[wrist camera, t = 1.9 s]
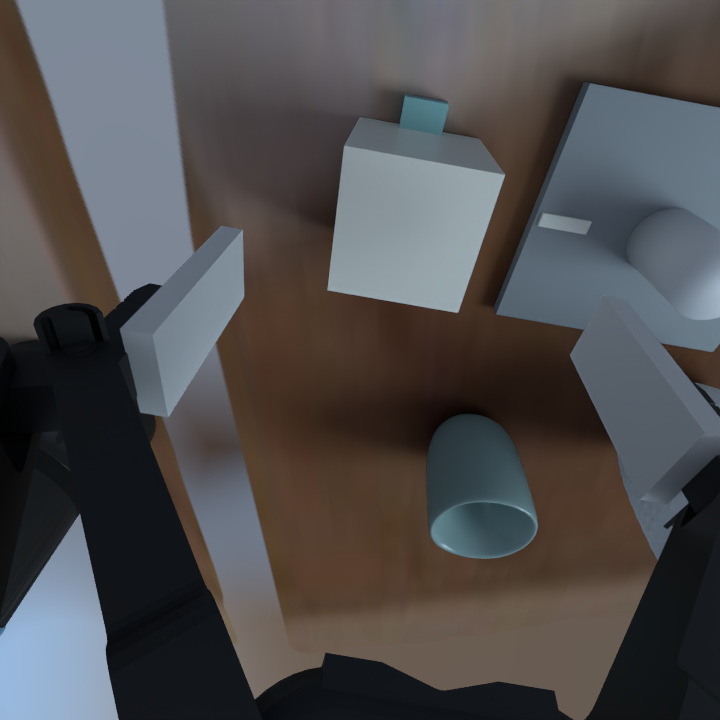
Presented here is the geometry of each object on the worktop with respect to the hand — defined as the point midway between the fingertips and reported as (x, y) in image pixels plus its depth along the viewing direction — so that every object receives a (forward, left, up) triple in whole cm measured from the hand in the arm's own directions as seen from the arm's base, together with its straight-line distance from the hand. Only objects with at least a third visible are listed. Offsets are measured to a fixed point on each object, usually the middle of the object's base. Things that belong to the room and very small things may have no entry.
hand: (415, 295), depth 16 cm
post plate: (+16, 0, -14) cm, 21 cm away
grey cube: (0, 0, -14) cm, 14 cm away
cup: (+10, -20, -14) cm, 26 cm away
